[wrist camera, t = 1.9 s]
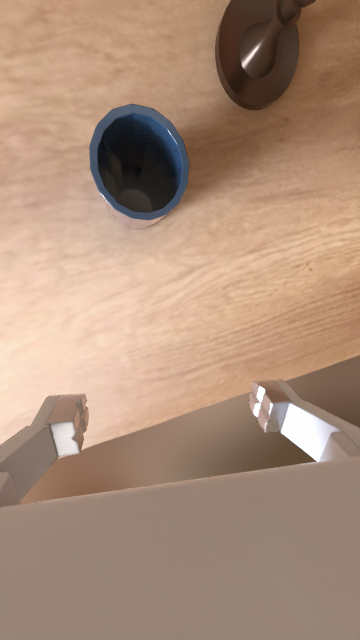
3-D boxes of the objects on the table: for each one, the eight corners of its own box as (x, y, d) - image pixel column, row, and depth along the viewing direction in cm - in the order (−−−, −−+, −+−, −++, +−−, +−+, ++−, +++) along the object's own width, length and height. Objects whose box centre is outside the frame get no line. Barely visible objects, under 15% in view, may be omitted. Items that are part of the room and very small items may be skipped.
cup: (153, 156, 24) (171, 91, 14) (172, 219, 26) (199, 203, 16) (95, 174, 23) (70, 120, 13) (120, 236, 26) (115, 232, 16)
